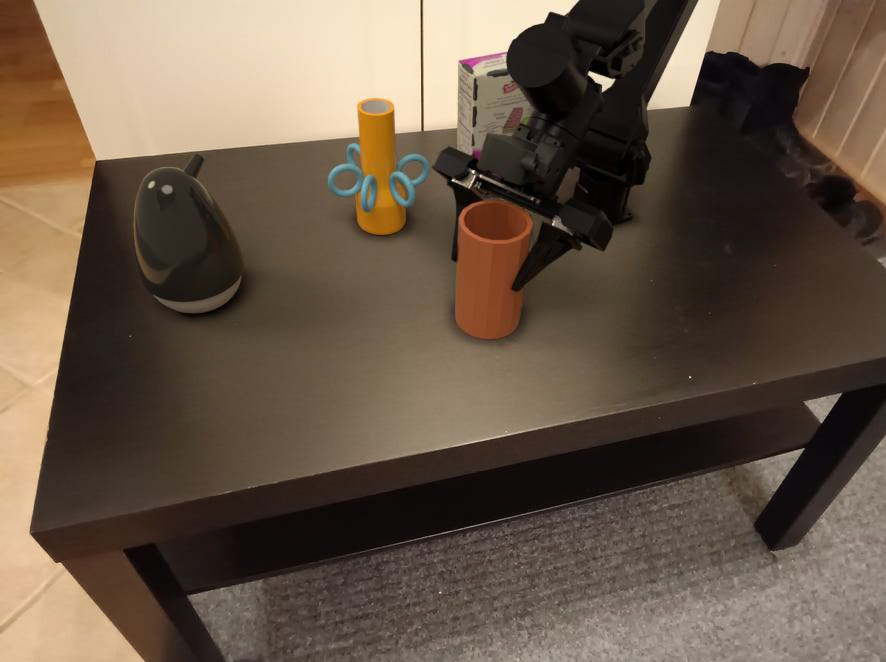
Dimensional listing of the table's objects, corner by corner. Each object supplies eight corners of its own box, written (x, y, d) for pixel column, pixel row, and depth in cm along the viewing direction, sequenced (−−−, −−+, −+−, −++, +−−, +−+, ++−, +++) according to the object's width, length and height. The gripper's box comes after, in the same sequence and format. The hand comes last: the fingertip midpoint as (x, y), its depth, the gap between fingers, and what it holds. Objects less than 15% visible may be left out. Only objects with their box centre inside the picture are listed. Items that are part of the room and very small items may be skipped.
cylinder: (409, 258, 82) (407, 141, 71) (324, 243, 83) (309, 126, 72) (435, 201, 90) (436, 89, 79) (357, 188, 91) (348, 76, 81)
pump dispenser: (269, 278, 78) (244, 155, 67) (215, 338, 71) (177, 213, 60) (190, 255, 80) (153, 133, 69) (130, 312, 73) (78, 186, 62)
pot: (498, 288, 79) (507, 193, 70) (531, 327, 75) (546, 231, 66) (443, 307, 76) (446, 210, 67) (475, 347, 72) (482, 250, 63)
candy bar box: (524, 163, 98) (538, 44, 86) (543, 181, 95) (559, 60, 83) (453, 179, 94) (456, 57, 82) (469, 199, 91) (476, 75, 79)
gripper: (444, 65, 65) (371, 219, 66) (624, 132, 58) (538, 301, 59) (487, 115, 75) (423, 246, 76) (644, 176, 68) (571, 319, 70)
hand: (483, 275), depth 70 cm, fingers closed on pot, 7 cm apart
